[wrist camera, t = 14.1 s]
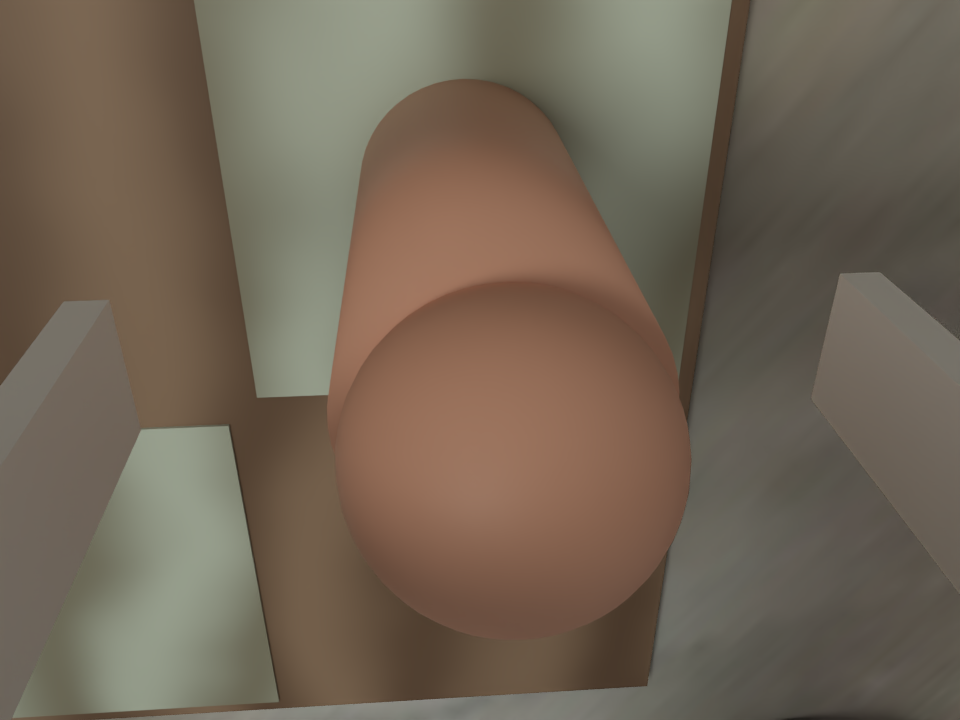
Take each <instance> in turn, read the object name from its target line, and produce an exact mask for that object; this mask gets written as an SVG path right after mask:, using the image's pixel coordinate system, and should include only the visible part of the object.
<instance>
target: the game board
mask: <svg viewBox="0 0 960 720" xmlns="http://www.w3.org/2000/svg"><path fill="white" fill-rule="evenodd" d="M749 5H750V0H0V385H1V384H2V383H3V381H4V380H5V379H6V377H7V376H8V375H9V373H10V372H11V371H12V369H13V368H14V367H15V365H16V364H17V363H18V362H19V360H20V359H21V358H22V356H23V355H24V354H25V352H26V351H27V350H28V348H29V347H30V346H31V344H32V343H33V342H34V340H35V339H36V338H37V336H38V335H39V334H40V332H41V331H42V330H43V328H44V327H45V326H46V324H47V323H48V322H49V320H50V319H51V318H52V316H53V315H54V314H55V312H56V311H57V310H58V308H59V307H60V306H61V304H62V303H63V302H64V301H90V300H109V301H110V305H111V309H112V314H113V318H114V322H115V326H116V330H117V334H118V338H119V342H120V346H121V350H122V354H123V359H124V363H125V367H126V371H127V375H128V379H129V383H130V387H131V391H132V395H133V399H134V404H135V408H136V412H137V416H138V420H139V424H140V428H141V431H140V434H139V436H138V438H137V440H136V442H135V445H134V447H133V449H132V451H131V454H130V456H129V458H128V460H127V463H126V465H125V467H124V469H123V471H122V474H121V476H120V478H119V480H118V483H117V485H116V487H115V489H114V492H113V494H112V496H111V498H110V500H109V503H108V505H107V507H106V509H105V512H104V514H103V516H102V518H101V521H100V523H99V525H98V527H97V529H96V532H95V534H94V536H93V538H92V541H91V543H90V545H89V547H88V550H87V552H86V554H85V556H84V559H83V561H82V563H81V565H80V567H79V570H78V572H77V574H76V576H75V579H74V581H73V583H72V585H71V588H70V590H69V592H68V594H67V596H66V599H65V601H64V603H63V605H62V608H61V610H60V612H59V614H58V617H57V619H56V621H55V623H54V625H53V628H52V630H51V632H50V634H49V637H48V639H47V641H46V643H45V646H44V648H43V650H42V652H41V655H40V657H39V659H38V661H37V663H36V666H35V668H34V670H33V672H32V675H31V677H30V679H29V681H28V684H27V686H26V688H25V690H24V692H23V695H22V697H21V699H20V701H19V704H18V706H17V708H16V710H15V713H14V715H13V717H12V719H11V720H95V719H112V718H128V717H144V716H161V715H177V714H194V713H210V712H227V711H243V710H259V709H276V708H292V707H309V706H325V705H342V704H358V703H375V702H391V701H407V700H424V699H440V698H457V697H473V696H490V695H506V694H523V693H539V692H555V691H572V690H588V689H605V688H621V687H638V686H647V683H648V676H649V670H650V663H651V657H652V650H653V643H654V637H655V630H656V623H657V617H658V610H659V603H660V597H661V590H662V583H663V577H664V570H665V563H666V557H667V552H666V554H665V555H664V557H663V559H662V560H661V562H660V564H659V565H658V567H657V568H656V569H655V571H654V572H653V573H652V574H651V576H650V577H649V578H648V579H647V580H646V581H645V582H644V583H643V584H642V585H641V586H640V587H639V588H638V589H637V590H636V591H635V592H634V593H633V594H632V595H631V596H630V597H629V598H628V599H627V600H625V601H624V602H623V603H622V604H620V605H619V606H618V607H617V608H615V609H614V610H612V611H611V612H609V613H607V614H606V615H604V616H603V617H601V618H599V619H597V620H595V621H593V622H591V623H589V624H587V625H584V626H582V627H579V628H576V629H574V630H571V631H568V632H565V633H561V634H558V635H554V636H549V637H544V638H538V639H528V640H500V639H488V638H483V637H477V636H472V635H469V634H465V633H462V632H458V631H456V630H453V629H451V628H448V627H446V626H443V625H441V624H439V623H437V622H435V621H433V620H431V619H429V618H427V617H425V616H423V615H422V614H420V613H418V612H417V611H415V610H414V609H412V608H411V607H410V606H408V605H407V604H406V603H404V602H403V601H402V600H401V599H400V598H398V597H397V596H396V595H395V594H394V593H393V592H392V591H391V590H390V589H389V588H387V587H386V586H385V585H384V584H383V583H382V582H381V580H380V579H379V578H378V576H377V575H376V574H375V573H374V571H373V570H372V569H371V567H370V566H369V565H368V563H367V562H366V561H365V559H364V558H363V556H362V555H361V553H360V551H359V549H358V548H357V546H356V544H355V542H354V540H353V538H352V536H351V533H350V531H349V529H348V526H347V523H346V521H345V518H344V515H343V513H342V509H341V504H340V499H339V494H338V489H337V484H336V474H335V454H334V451H333V449H332V446H331V442H330V436H329V431H328V426H327V402H328V394H329V387H330V380H331V373H332V366H333V359H334V352H335V345H336V339H337V332H338V325H339V318H340V311H341V304H342V297H343V290H344V283H345V276H346V270H347V263H348V256H349V249H350V242H351V235H352V228H353V221H354V214H355V208H356V201H357V194H358V187H359V180H360V173H361V166H362V160H363V157H364V153H365V150H366V147H367V145H368V142H369V140H370V138H371V135H372V134H373V132H374V130H375V129H376V127H377V125H378V124H379V123H380V121H381V120H382V119H383V118H384V116H385V115H386V114H387V113H388V112H389V111H390V110H391V109H392V108H393V107H394V106H395V105H396V104H397V103H399V102H400V101H401V100H403V99H404V98H406V97H407V96H408V95H410V94H412V93H414V92H416V91H418V90H420V89H421V88H424V87H427V86H429V85H432V84H435V83H439V82H443V81H448V80H456V79H477V80H484V81H489V82H494V83H497V84H500V85H503V86H506V87H508V88H510V89H512V90H514V91H516V92H518V93H520V94H521V95H523V96H524V97H526V98H527V99H529V100H530V101H531V102H533V103H534V104H535V105H536V106H537V107H538V108H539V109H540V110H541V111H542V112H543V113H544V114H545V116H546V117H547V118H548V119H549V120H550V122H551V123H552V125H553V126H554V128H555V130H556V131H557V133H558V135H559V137H560V139H561V141H562V142H563V144H564V146H565V148H566V150H567V152H568V154H569V156H570V158H571V159H572V161H573V163H574V165H575V167H576V169H577V171H578V173H579V175H580V177H581V178H582V180H583V182H584V184H585V186H586V188H587V190H588V192H589V194H590V195H591V197H592V199H593V201H594V203H595V205H596V207H597V209H598V211H599V212H600V214H601V216H602V218H603V220H604V222H605V224H606V226H607V228H608V230H609V231H610V233H611V235H612V237H613V239H614V241H615V243H616V245H617V247H618V248H619V250H620V252H621V254H622V256H623V258H624V260H625V262H626V264H627V265H628V267H629V269H630V271H631V273H632V275H633V277H634V279H635V281H636V283H637V284H638V286H639V288H640V290H641V292H642V294H643V296H644V298H645V300H646V301H647V303H648V305H649V307H650V309H651V311H652V313H653V315H654V317H655V318H656V320H657V322H658V324H659V326H660V328H661V330H662V332H663V334H664V335H665V338H666V340H667V342H668V344H669V347H670V349H671V351H672V354H673V357H674V361H675V365H676V369H677V372H678V381H679V398H680V401H681V404H682V407H683V410H684V414H685V417H686V421H687V417H688V411H689V404H690V397H691V391H692V384H693V377H694V371H695V364H696V357H697V351H698V344H699V338H700V331H701V324H702V318H703V311H704V304H705V298H706V291H707V284H708V278H709V271H710V264H711V258H712V251H713V245H714V238H715V231H716V225H717V218H718V211H719V205H720V198H721V191H722V185H723V178H724V171H725V165H726V158H727V151H728V145H729V138H730V132H731V125H732V118H733V112H734V105H735V98H736V92H737V85H738V78H739V72H740V65H741V58H742V52H743V45H744V39H745V32H746V25H747V19H748V12H749Z"/></svg>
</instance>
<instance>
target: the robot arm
mask: <svg viewBox="0 0 960 720" xmlns="http://www.w3.org/2000/svg"><path fill="white" fill-rule="evenodd" d="M811 400H812V401H813V402H814V404H815V405H816V406H817V408H818V409H819V410H820V412H821V413H822V414H823V416H824V417H825V418H826V420H827V421H828V422H829V423H830V425H831V426H832V427H833V429H834V430H835V431H836V433H837V434H838V435H839V437H840V438H841V439H842V441H843V442H844V443H845V444H846V446H847V447H848V448H849V450H850V451H851V452H852V454H853V455H854V456H855V458H856V459H857V460H858V461H859V463H860V464H861V465H862V467H863V468H864V469H865V471H866V472H867V473H868V475H869V476H870V477H871V479H872V480H873V481H874V482H875V484H876V485H877V486H878V488H879V489H880V490H881V492H882V493H883V494H884V496H885V497H886V498H887V500H888V501H889V502H890V503H891V505H892V506H893V507H894V509H895V510H896V511H897V513H898V514H899V515H900V517H901V518H902V519H903V521H904V522H905V523H906V524H907V526H908V527H909V528H910V530H911V531H912V532H913V534H914V535H915V536H916V538H917V539H918V540H919V542H920V543H921V544H922V545H923V547H924V548H925V549H926V551H927V552H928V553H929V555H930V556H931V557H932V559H933V560H934V561H935V562H936V564H937V565H938V566H939V568H940V569H941V570H942V572H943V573H944V574H945V576H946V577H947V578H948V580H949V581H950V582H951V583H952V585H953V586H954V587H955V589H956V590H957V591H958V593H959V594H960V340H958V339H957V338H956V337H955V336H954V335H953V334H951V333H950V332H949V331H948V330H947V329H946V328H944V327H943V326H942V325H941V324H940V323H939V322H937V321H936V320H935V319H934V318H933V317H932V316H930V315H929V314H928V313H927V312H926V311H925V310H923V309H922V308H921V307H920V306H919V305H918V304H917V303H915V302H914V301H913V300H912V299H911V298H910V297H908V296H907V295H906V294H905V293H904V292H903V291H901V290H900V289H899V288H898V287H897V286H896V285H894V284H893V283H892V282H891V281H890V280H889V279H887V278H886V277H885V276H884V275H883V274H882V273H880V272H866V273H840V275H839V280H838V284H837V288H836V292H835V297H834V301H833V305H832V310H831V314H830V318H829V323H828V327H827V331H826V336H825V340H824V344H823V348H822V353H821V357H820V361H819V366H818V370H817V374H816V379H815V383H814V387H813V391H812V396H811ZM140 431H141V428H140V424H139V420H138V416H137V412H136V408H135V404H134V399H133V395H132V391H131V387H130V383H129V379H128V375H127V371H126V367H125V363H124V359H123V354H122V350H121V346H120V342H119V338H118V334H117V330H116V326H115V322H114V318H113V314H112V309H111V305H110V301H109V300H90V301H64V302H63V303H62V304H61V306H60V307H59V308H58V310H57V311H56V312H55V314H54V315H53V316H52V318H51V319H50V320H49V322H48V323H47V324H46V326H45V327H44V328H43V330H42V331H41V332H40V334H39V335H38V336H37V338H36V339H35V340H34V342H33V343H32V344H31V346H30V347H29V348H28V350H27V351H26V352H25V354H24V355H23V356H22V358H21V359H20V360H19V362H18V363H17V364H16V365H15V367H14V368H13V369H12V371H11V372H10V373H9V375H8V376H7V377H6V379H5V380H4V381H3V383H2V384H1V385H0V720H11V719H12V717H13V715H14V713H15V710H16V708H17V706H18V704H19V701H20V699H21V697H22V695H23V692H24V690H25V688H26V686H27V684H28V681H29V679H30V677H31V675H32V672H33V670H34V668H35V666H36V663H37V661H38V659H39V657H40V655H41V652H42V650H43V648H44V646H45V643H46V641H47V639H48V637H49V634H50V632H51V630H52V628H53V625H54V623H55V621H56V619H57V617H58V614H59V612H60V610H61V608H62V605H63V603H64V601H65V599H66V596H67V594H68V592H69V590H70V588H71V585H72V583H73V581H74V579H75V576H76V574H77V572H78V570H79V567H80V565H81V563H82V561H83V559H84V556H85V554H86V552H87V550H88V547H89V545H90V543H91V541H92V538H93V536H94V534H95V532H96V529H97V527H98V525H99V523H100V521H101V518H102V516H103V514H104V512H105V509H106V507H107V505H108V503H109V500H110V498H111V496H112V494H113V492H114V489H115V487H116V485H117V483H118V480H119V478H120V476H121V474H122V471H123V469H124V467H125V465H126V463H127V460H128V458H129V456H130V454H131V451H132V449H133V447H134V445H135V442H136V440H137V438H138V436H139V434H140Z"/></svg>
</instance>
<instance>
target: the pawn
mask: <svg viewBox="0 0 960 720" xmlns="http://www.w3.org/2000/svg"><path fill="white" fill-rule="evenodd" d="M327 426H328V431H329V436H330V442H331V446H332V449H333V451H334V454H335V474H336V484H337V489H338V494H339V499H340V504H341V509H342V513H343V515H344V518H345V521H346V523H347V526H348V529H349V531H350V533H351V536H352V538H353V540H354V542H355V544H356V546H357V548H358V549H359V551H360V553H361V555H362V556H363V558H364V559H365V561H366V562H367V563H368V565H369V566H370V567H371V569H372V570H373V571H374V573H375V574H376V575H377V576H378V578H379V579H380V580H381V582H382V583H383V584H384V585H385V586H386V587H387V588H389V589H390V590H391V591H392V592H393V593H394V594H395V595H396V596H397V597H398V598H400V599H401V600H402V601H403V602H404V603H406V604H407V605H408V606H410V607H411V608H412V609H414V610H415V611H417V612H418V613H420V614H422V615H423V616H425V617H427V618H429V619H431V620H433V621H435V622H437V623H439V624H441V625H443V626H446V627H448V628H451V629H453V630H456V631H458V632H462V633H465V634H469V635H472V636H477V637H483V638H488V639H500V640H528V639H538V638H544V637H549V636H554V635H558V634H561V633H565V632H568V631H571V630H574V629H576V628H579V627H582V626H584V625H587V624H589V623H591V622H593V621H595V620H597V619H599V618H601V617H603V616H604V615H606V614H607V613H609V612H611V611H612V610H614V609H615V608H617V607H618V606H619V605H620V604H622V603H623V602H624V601H625V600H627V599H628V598H629V597H630V596H631V595H632V594H633V593H634V592H635V591H636V590H637V589H638V588H639V587H640V586H641V585H642V584H643V583H644V582H645V581H646V580H647V579H648V578H649V577H650V576H651V574H652V573H653V572H654V571H655V569H656V568H657V567H658V565H659V564H660V562H661V560H662V559H663V557H664V555H665V554H666V552H667V550H668V548H669V547H670V545H671V543H672V542H673V540H674V538H675V535H676V533H677V530H678V528H679V526H680V523H681V520H682V517H683V513H684V510H685V506H686V502H687V498H688V494H689V484H690V471H691V449H690V439H689V431H688V425H687V421H686V417H685V414H684V410H683V407H682V404H681V401H680V398H679V381H678V372H677V369H676V365H675V361H674V357H673V354H672V351H671V349H670V347H669V344H668V342H667V340H666V338H665V335H664V334H663V332H662V330H661V328H660V326H659V324H658V322H657V320H656V318H655V317H654V315H653V313H652V311H651V309H650V307H649V305H648V303H647V301H646V300H645V298H644V296H643V294H642V292H641V290H640V288H639V286H638V284H637V283H636V281H635V279H634V277H633V275H632V273H631V271H630V269H629V267H628V265H627V264H626V262H625V260H624V258H623V256H622V254H621V252H620V250H619V248H618V247H617V245H616V243H615V241H614V239H613V237H612V235H611V233H610V231H609V230H608V228H607V226H606V224H605V222H604V220H603V218H602V216H601V214H600V212H599V211H598V209H597V207H596V205H595V203H594V201H593V199H592V197H591V195H590V194H589V192H588V190H587V188H586V186H585V184H584V182H583V180H582V178H581V177H580V175H579V173H578V171H577V169H576V167H575V165H574V163H573V161H572V159H571V158H570V156H569V154H568V152H567V150H566V148H565V146H564V144H563V142H562V141H561V139H560V137H559V135H558V133H557V131H556V130H555V128H554V126H553V125H552V123H551V122H550V120H549V119H548V118H547V117H546V116H545V114H544V113H543V112H542V111H541V110H540V109H539V108H538V107H537V106H536V105H535V104H534V103H533V102H531V101H530V100H529V99H527V98H526V97H524V96H523V95H521V94H520V93H518V92H516V91H514V90H512V89H510V88H508V87H506V86H503V85H500V84H497V83H494V82H489V81H484V80H477V79H456V80H448V81H443V82H439V83H435V84H432V85H429V86H427V87H424V88H421V89H420V90H418V91H416V92H414V93H412V94H410V95H408V96H407V97H406V98H404V99H403V100H401V101H400V102H399V103H397V104H396V105H395V106H394V107H393V108H392V109H391V110H390V111H389V112H388V113H387V114H386V115H385V116H384V118H383V119H382V120H381V121H380V123H379V124H378V125H377V127H376V129H375V130H374V132H373V134H372V135H371V138H370V140H369V142H368V145H367V147H366V150H365V153H364V157H363V160H362V166H361V173H360V180H359V187H358V194H357V201H356V208H355V214H354V221H353V228H352V235H351V242H350V249H349V256H348V263H347V270H346V276H345V283H344V290H343V297H342V304H341V311H340V318H339V325H338V332H337V339H336V345H335V352H334V359H333V366H332V373H331V380H330V387H329V394H328V402H327Z"/></svg>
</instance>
